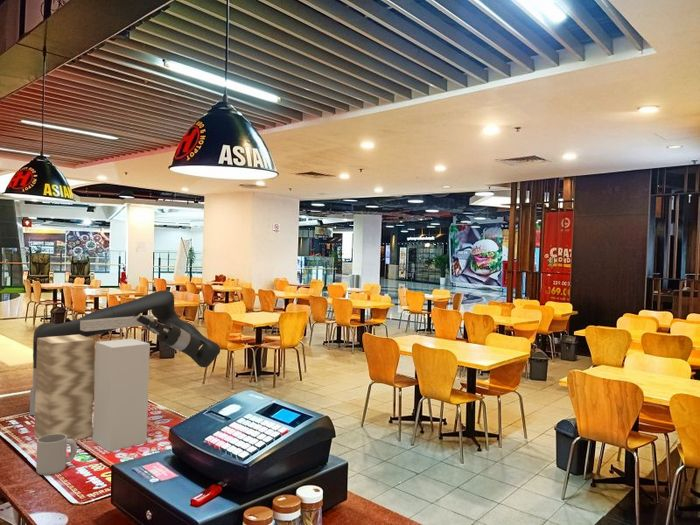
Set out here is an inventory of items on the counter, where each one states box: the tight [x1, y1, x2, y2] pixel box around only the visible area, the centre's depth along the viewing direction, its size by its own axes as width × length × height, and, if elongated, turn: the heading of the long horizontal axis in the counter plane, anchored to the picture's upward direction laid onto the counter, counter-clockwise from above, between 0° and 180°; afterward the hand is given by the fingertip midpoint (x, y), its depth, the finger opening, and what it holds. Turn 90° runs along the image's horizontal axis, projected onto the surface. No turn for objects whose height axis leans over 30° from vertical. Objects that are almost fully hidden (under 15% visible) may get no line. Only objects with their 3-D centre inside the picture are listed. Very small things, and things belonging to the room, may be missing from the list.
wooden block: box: [80, 314, 155, 331], centre depth 174 cm, size 23×4×3 cm, turn 139°
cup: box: [35, 434, 78, 476], centre depth 145 cm, size 7×10×9 cm
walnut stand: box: [33, 334, 96, 441], centre depth 170 cm, size 13×13×32 cm
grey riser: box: [92, 338, 151, 453], centre depth 167 cm, size 12×12×32 cm
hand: (136, 317), depth 179 cm, fingers closed on wooden block, 4 cm apart
